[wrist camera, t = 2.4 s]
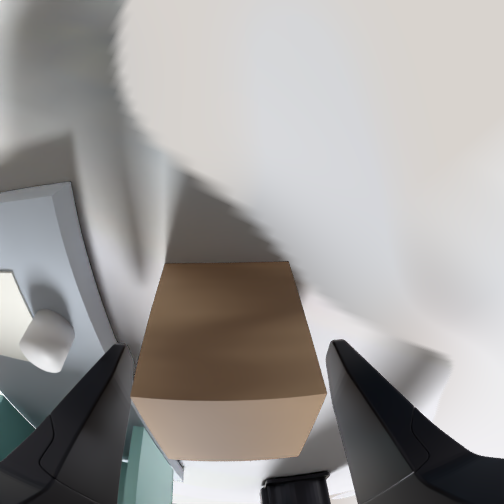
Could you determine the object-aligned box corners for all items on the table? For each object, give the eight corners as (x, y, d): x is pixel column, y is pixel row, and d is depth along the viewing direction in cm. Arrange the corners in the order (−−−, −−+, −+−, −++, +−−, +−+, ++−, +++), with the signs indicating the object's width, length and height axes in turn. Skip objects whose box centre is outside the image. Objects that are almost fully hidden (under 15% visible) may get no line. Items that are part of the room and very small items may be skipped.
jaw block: (288, 260, 10) (326, 393, 5) (278, 343, 12) (298, 456, 8) (164, 262, 9) (129, 396, 5) (180, 345, 11) (168, 458, 7)
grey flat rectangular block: (70, 181, 8) (22, 219, 5) (183, 470, 20) (182, 495, 18) (-78, 211, 7) (-110, 238, 5) (80, 454, 20) (75, 477, 17)
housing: (144, 427, 13) (133, 527, 8) (173, 470, 17) (171, 537, 12) (-2, 393, 12) (-28, 464, 7) (51, 446, 16) (39, 503, 11)
